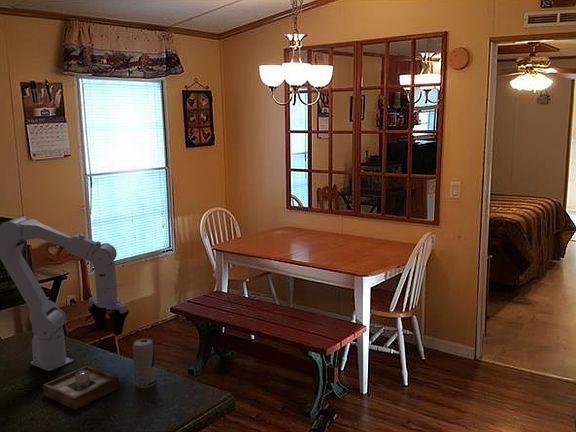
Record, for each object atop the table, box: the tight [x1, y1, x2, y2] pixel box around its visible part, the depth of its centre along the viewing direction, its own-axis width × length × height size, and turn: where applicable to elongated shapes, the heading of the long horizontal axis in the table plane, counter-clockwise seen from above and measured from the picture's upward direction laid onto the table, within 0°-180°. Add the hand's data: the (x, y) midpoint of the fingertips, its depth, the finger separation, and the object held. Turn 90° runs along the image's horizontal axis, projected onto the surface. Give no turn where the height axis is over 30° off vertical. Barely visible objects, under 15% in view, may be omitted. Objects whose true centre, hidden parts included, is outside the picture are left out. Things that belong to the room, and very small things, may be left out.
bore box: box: [42, 365, 120, 411], centre depth 149 cm, size 13×13×3 cm
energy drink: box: [132, 337, 157, 389], centre depth 151 cm, size 5×5×12 cm
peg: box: [75, 370, 91, 392], centre depth 149 cm, size 4×4×5 cm
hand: (109, 331), depth 165 cm, fingers open, 7 cm apart
